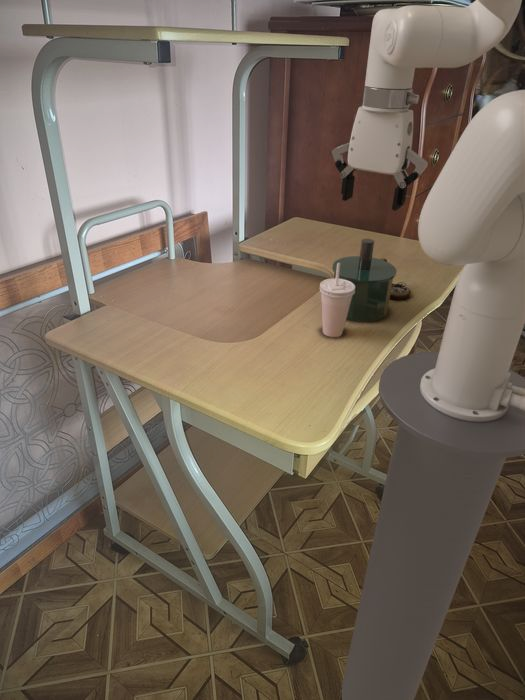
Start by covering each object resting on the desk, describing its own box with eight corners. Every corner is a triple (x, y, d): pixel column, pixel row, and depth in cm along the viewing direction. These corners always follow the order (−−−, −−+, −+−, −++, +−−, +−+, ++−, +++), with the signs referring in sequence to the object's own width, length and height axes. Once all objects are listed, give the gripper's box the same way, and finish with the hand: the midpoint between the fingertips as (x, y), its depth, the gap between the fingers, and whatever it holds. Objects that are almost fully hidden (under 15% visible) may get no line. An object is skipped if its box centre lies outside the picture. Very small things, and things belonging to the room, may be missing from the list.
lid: (404, 270, 100) (410, 238, 97) (381, 291, 91) (386, 257, 88) (348, 256, 106) (351, 226, 102) (321, 275, 97) (324, 243, 93)
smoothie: (309, 334, 93) (315, 263, 86) (325, 320, 98) (332, 252, 90) (340, 344, 90) (349, 272, 83) (355, 330, 95) (364, 260, 87)
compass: (405, 303, 105) (411, 270, 101) (369, 293, 109) (374, 262, 105) (416, 289, 111) (423, 258, 107) (382, 281, 114) (387, 251, 111)
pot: (395, 305, 104) (401, 267, 100) (373, 327, 96) (380, 287, 91) (345, 291, 109) (349, 255, 105) (321, 311, 101) (324, 272, 97)
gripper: (445, 102, 81) (424, 207, 90) (347, 93, 88) (337, 191, 98) (431, 106, 75) (410, 218, 85) (328, 97, 83) (319, 200, 92)
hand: (371, 203), depth 91 cm, fingers open, 9 cm apart
